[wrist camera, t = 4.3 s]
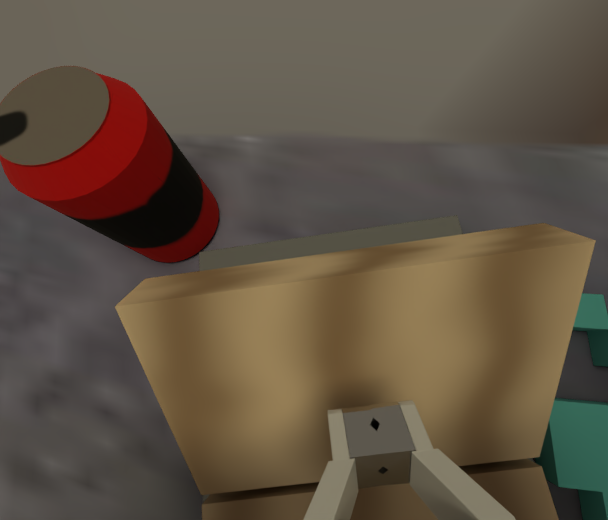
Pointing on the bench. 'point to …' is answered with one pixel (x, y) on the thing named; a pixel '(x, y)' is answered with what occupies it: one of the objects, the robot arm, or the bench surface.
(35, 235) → the bench surface
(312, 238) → the underlay mat
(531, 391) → the board
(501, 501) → the laid plank
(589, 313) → the alien figure
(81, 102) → the soda can
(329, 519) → the robot arm
